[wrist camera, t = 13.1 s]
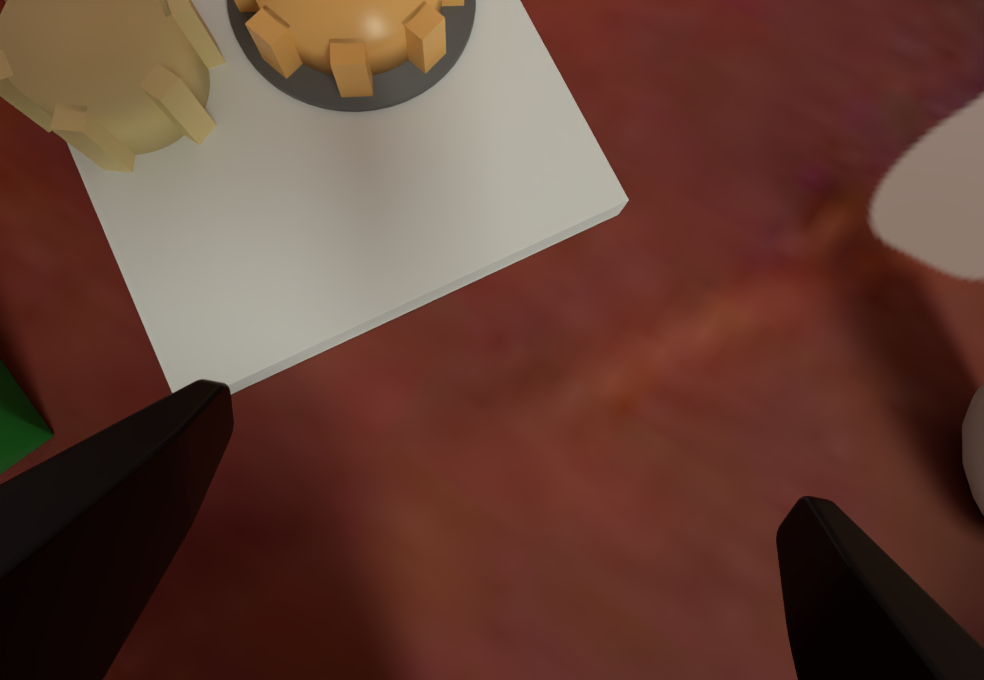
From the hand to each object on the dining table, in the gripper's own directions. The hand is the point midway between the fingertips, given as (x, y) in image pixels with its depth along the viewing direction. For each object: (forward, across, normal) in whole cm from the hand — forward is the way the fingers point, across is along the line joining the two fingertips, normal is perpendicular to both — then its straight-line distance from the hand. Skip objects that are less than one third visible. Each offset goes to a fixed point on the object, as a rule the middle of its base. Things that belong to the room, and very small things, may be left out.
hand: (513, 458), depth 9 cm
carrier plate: (+18, +9, +1) cm, 20 cm away
